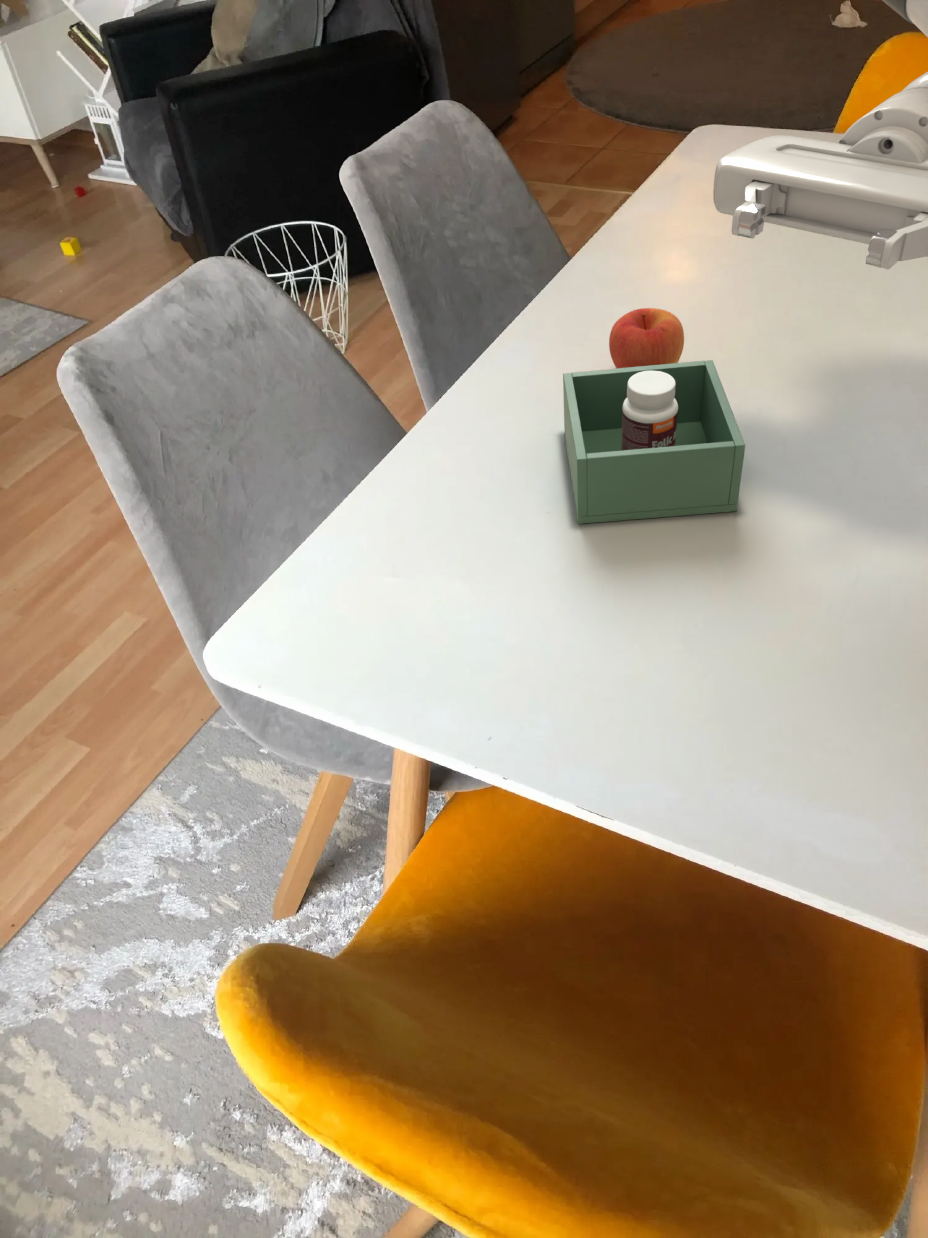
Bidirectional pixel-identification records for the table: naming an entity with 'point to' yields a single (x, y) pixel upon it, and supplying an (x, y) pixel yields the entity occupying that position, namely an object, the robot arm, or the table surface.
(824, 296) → the table surface
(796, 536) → the table surface
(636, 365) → the apple
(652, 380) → the pill bottle
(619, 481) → the bin
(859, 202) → the robot arm
